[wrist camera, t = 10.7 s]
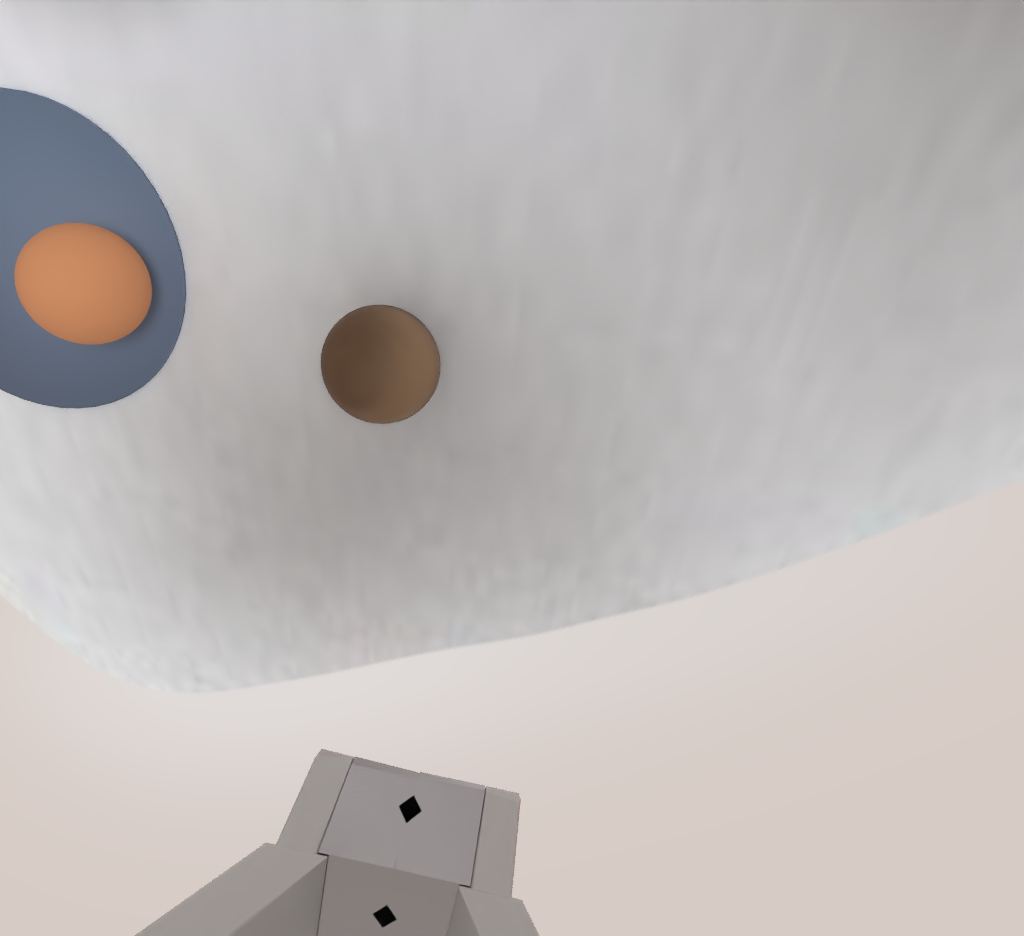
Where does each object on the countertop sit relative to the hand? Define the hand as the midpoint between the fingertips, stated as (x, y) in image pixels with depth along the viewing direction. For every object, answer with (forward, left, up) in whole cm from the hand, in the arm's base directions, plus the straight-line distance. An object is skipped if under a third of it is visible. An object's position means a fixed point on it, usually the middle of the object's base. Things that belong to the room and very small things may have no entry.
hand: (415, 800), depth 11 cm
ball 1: (+19, 0, -22) cm, 29 cm away
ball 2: (+6, 0, -22) cm, 22 cm away
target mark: (+23, 0, -24) cm, 33 cm away
